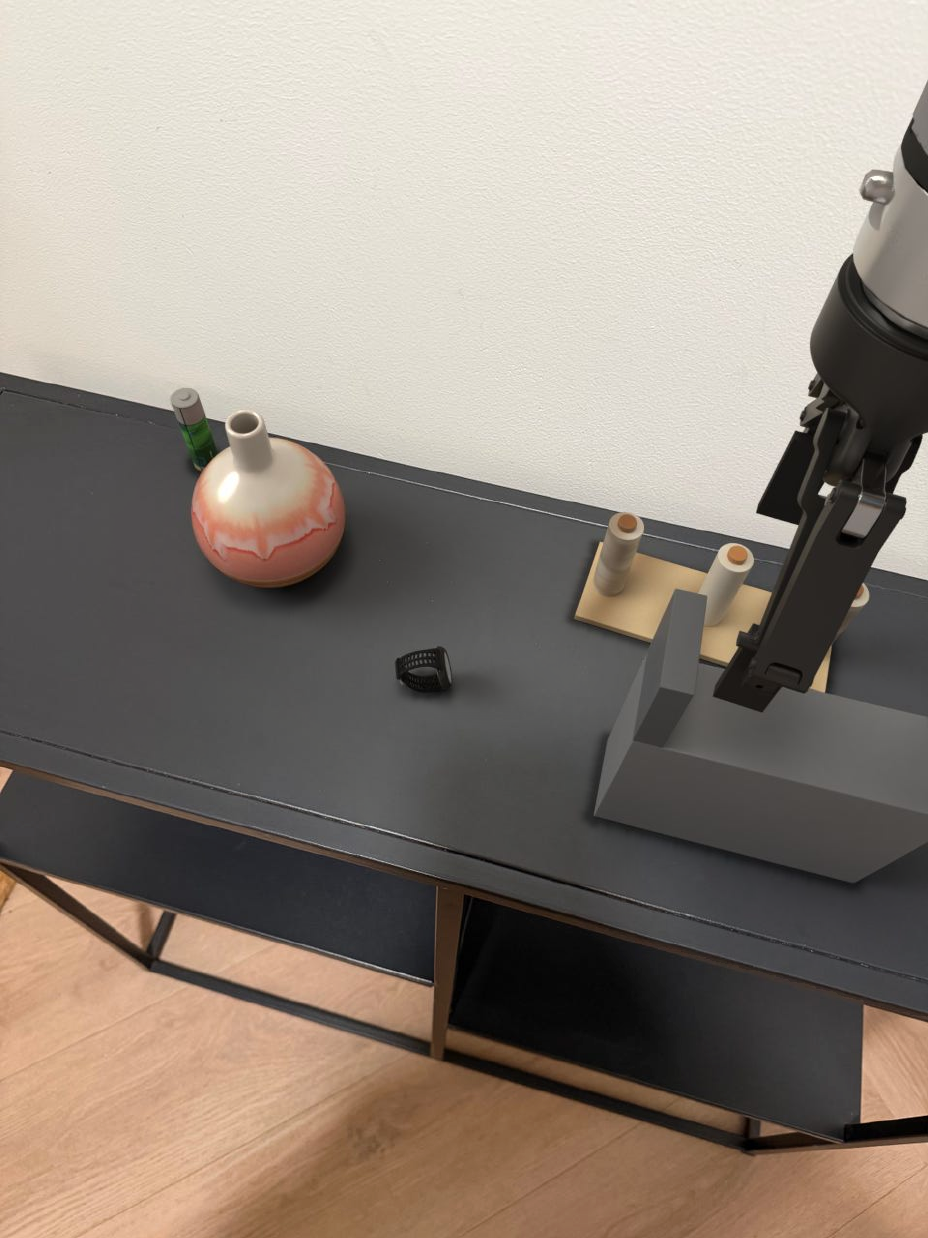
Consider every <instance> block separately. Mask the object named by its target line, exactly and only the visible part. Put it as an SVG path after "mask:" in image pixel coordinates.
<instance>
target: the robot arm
mask: <svg viewBox="0 0 928 1238" xmlns="http://www.w3.org/2000/svg"><path fill="white" fill-rule="evenodd" d="M858 191H859V194H860V197H861V198H862V200H864V201H867V202H871V205H870V207H869V210H868V212H867V214H866V216H865V218H864V220H863V222H862V224H861V227H860V228H859V231H858V233H857V235H856V237H855V239H854V240H855V241H854V244H853V247H852V253H851V254H850V255H848V256H847V258H846V259H845V260H844V262H843V263H842V264H841V267H840V268H839V270H838V273H837V274H836V277H835V279H834V281H833V283H832V286H831V288H830V290H829V292H828V295H827V297H826V299H825V301H824V303H823V305H822V308H821V310H820V312H819V314H818V316H817V318H816V321H815V322H814V324H813V327H812V330H811V333H810V338H809V352H810V359H811V361H812V364H813V367H814V369H815V370H816V374H815V375H814V377H813V379H812V380H810V382H809V384H808V387H807V390H808V393H807V396H808V397H809V398H813V399H814V400H812V401H811V402H809V403H808V404H807V405H805V406H804V408H803V410H801V412H800V415H799V427H802V428H803V430H802V431H800V430H794V432H793V434H792V436H791V438H790V440H789V442H788V443H787V446H786V447H785V450H784V451H783V453H782V456H781V458H780V460H779V462H778V463H777V465H776V468H775V470H774V471H773V474H772V475H771V477H770V479H769V481H768V484H766V485H767V486H766V487H765V490H764V492H763V493H762V495H761V497H760V498H759V501H758V503H757V506H756V510H755V514H757V515H760V516H764V517H767V518H771V519H774V520H778V521H781V522H785V523H788V524H792V525H796V526H797V528H796V530H795V533H794V536H793V538H792V540H791V543H790V546H789V549H788V551H787V554H786V556H785V558H784V561H783V564H782V566H781V569H780V571H779V574H778V577H777V579H776V582H775V584H774V587H773V589H772V592H771V593H772V594H771V597H770V599H769V602H768V604H767V607H766V609H765V612H764V615H763V617H762V620H761V622H760V625H758V624H754V623H753V624H752V626H751V628H750V629H749V631H748V633H746V632H743V631H739V633H738V637H737V640H736V646H737V647H738V649H737V651H736V652H735V654H734V655H733V657H732V659H731V660H730V662H729V664H728V665H727V667H725V668H724V669H725V670H724V672H723V673H722V675H721V677H720V678H719V680H718V682H717V683H716V685H715V689H714V693H713V697H715V698H718V699H721V700H725V701H728V702H731V703H734V704H737V705H740V706H743V707H746V708H749V709H752V710H755V711H758V712H761V713H762V712H763V711H764V710H765V709H766V707H767V706H768V705H769V703H770V702H771V701H772V699H773V698H774V697H775V695H776V694H777V693H778V692H779V690H780V689H781V688H782V687H784V688H787V689H790V690H794V691H797V692H800V693H803V694H805V693H806V692H807V691H808V689H809V687H811V686H812V684H813V681H814V677H815V675H816V673H817V672H818V670H819V668H820V666H821V664H822V662H823V660H824V658H825V656H826V654H827V652H828V650H829V648H830V646H831V644H832V642H833V640H834V638H835V636H836V634H837V632H838V630H839V629H840V627H841V625H842V623H843V621H844V619H845V617H846V615H847V613H848V611H849V609H850V607H851V605H852V603H853V601H854V599H855V597H856V595H857V593H858V591H859V589H860V587H861V585H862V584H863V583H864V581H865V580H866V577H867V576H868V574H869V572H870V570H871V568H872V566H873V564H874V562H875V560H876V558H877V556H878V554H879V552H880V551H881V549H882V548H883V546H884V545H885V544H886V542H887V541H888V539H889V538H890V536H891V535H892V533H893V532H894V530H895V529H896V527H897V525H898V524H899V523H900V521H901V520H902V519H904V517H905V516H906V515H905V514H906V513H907V507H906V506H907V503H908V501H907V497H905V496H902V495H899V494H895V493H894V492H895V490H896V488H897V485H898V483H899V481H900V478H901V477H902V475H903V474H905V473H906V472H907V471H909V470H910V469H911V468H912V466H913V463H914V462H915V459H916V457H917V454H918V452H919V450H920V447H921V445H922V442H923V437H924V434H928V80H927V81H926V83H925V85H924V87H923V90H922V92H921V94H920V97H919V99H918V101H917V102H916V105H915V108H914V110H913V112H912V117H911V119H910V121H909V123H908V126H907V128H906V130H905V132H904V135H903V138H902V140H901V142H900V145H899V146H898V148H897V150H896V152H895V154H894V157H893V164H892V171H889V170H881V169H871V170H869V171H868V172H866V174H865V175H864V177H863V180H862V182H861V184H860V186H859V188H858ZM824 484H827V485H828V486H830V487H833V488H832V489H831V491H830V493H828V494H827V496H826V495H822V494H819V493H820V491H821V490H822V488H823V486H824ZM832 645H833V644H832Z"/></svg>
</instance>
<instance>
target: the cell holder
mask: <svg viewBox="0 0 928 1238" xmlns="http://www.w3.org/2000/svg"><path fill="white" fill-rule="evenodd" d="M644 531H645V524H644V522H643V520H642V519H641V517H639V516H638V515H637V514H634V513H632V512H629V511H621V512H617V513H615V514H614V515H612V516H611V517H610V519H609V523H608V525H607V529H606V532H605V536H604V540H603V541H599V543H598V547H597V549H596V552H595V556H594V559H593V561H592V564H591V566H590V570H589V574H588V576H587V579H586V582H585V584H584V588H583V591H582V594H581V597H580V600H579V603H578V606H577V609H576V611H575V615H574V618H573V619H574V620H576V621H579V622H583V623H585V624H589V625H592V626H595V627H598V628H601V629H605V630H607V631H611V632H614V633H616V634H617V633H618V634H620V635H623V636H627V637H631V638H632V639H636V640H639V641H643V642H646V643H649V644H651V642H652V640H653V637H654V635H655V633H656V631H657V628H658V626H659V624H660V622H661V619H662V617H663V615H664V613H665V610H666V608H667V606H668V604H669V602H670V599H671V597H672V595H673V593H674V590H675V589H680V590H685V591H689V592H694V593H698V592H699V590H700V588H701V586H702V584H703V582H704V580H705V578H706V576H707V574H708V572H704V571H700V570H697V569H693V568H690V567H688V566H685V565H681V564H677V563H674V562H670V561H667V560H665V559H660V558H657V557H654V556H650V555H647V554H643V553H640V552H637V551H638V548H639V545H640V544H641V543H640V542H641V540H642V537H643V535H644ZM771 594H772V592H771V591H768V590H764V589H761V588H758V587H755V586H751V585H747V584H744V583H743V584H742V585H741V587H740V589H739V591H738V592H737V594H736V596H735V598H734V599H733V601H732V603H731V605H730V607H729V608H728V610H727V612H726V614H725V615H724V617H723V619H722V620H721V622H720V623H719V624H717V625H714V626H704V627H703V634H702V642H701V650H700V657H699V660H704V661H706V662H710V663H713V664H716V665H718V666H719V665H720V666H722V667H725V668H726V667H727V665H728V664H729V662H730V660H731V659H732V657H733V655H734V654H735V652H736V651H737V649H738V647H737V646H736V640H737V637H738V633H739V631H743V632H746V633H748V631H749V629H750V628H751V626H752V624H753V623H754V624H758V625H760V622H761V620H762V617H763V615H764V612H765V609H766V607H767V604H768V602H769V599H770V597H771ZM869 600H870V591H869V589H868V587H867V585H866V584H865V583H864V582H863V584H862V585H861V587H860V589H859V591H858V593H857V595H856V597H855V599H854V601H853V603H852V605H851V607H850V609H849V611H848V613H847V615H846V617H845V619H844V621H843V623H842V625H841V627H840V629H839V630H838V632H837V634H836V636H835V638H834V640H833V642H832V644H831V646H830V648H829V650H828V652H827V654H826V656H825V658H824V660H823V662H822V664H821V666H820V668H819V670H818V672H817V673H816V675H815V677H814V681H813V684H812V686H811V687H809V689H811V690H815V691H819V692H823V693H826V691H827V682H828V675H829V669H830V663H831V655H832V648H833V644H834V643H835V642H836V641H837V639H838V638H839V637H840V636H841V634H843V632H844V631H845V630H846V628H848V627H849V625H850V624H851V623H852V621H853V620H854V619H855V618H856V617H857V615H858V614H859V613H860V612H861V610H862V609H863V608H864V607H865V606H866V604H867V603H868V602H869Z"/></svg>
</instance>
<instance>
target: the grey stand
mask: <svg viewBox="0 0 928 1238" xmlns="http://www.w3.org/2000/svg"><path fill="white" fill-rule="evenodd" d="M706 604H707V595H702V594H698V593H694V592H689V591H685V590H680V589H675V590H674V593H673V595H672V597H671V599H670V602H669V604H668V606H667V608H666V610H665V613H664V615H663V617H662V619H661V622H660V624H659V626H658V628H657V631H656V633H655V635H654V637H653V640H652V642H651V643H649V646H648V649H647V651H646V653H645V655H644V658H643V660H642V662H641V664H640V667H639V668H638V671H637V673H636V676H635V678H634V680H633V683H632V685H631V687H630V689H629V691H628V694H627V696H626V698H625V700H624V703H623V705H622V707H621V709H620V711H619V714H618V716H617V718H616V720H615V723H614V725H613V727H612V729H611V732H610V734H609V736H608V738H607V742H606V745H605V753H604V757H603V763H602V768H601V773H600V779H599V783H598V789H597V794H596V800H595V806H594V812H593V816H594V817H596V818H600V819H604V820H608V821H612V822H615V823H619V824H622V825H627V826H630V827H634V828H638V829H642V830H647V831H650V832H655V833H658V834H662V835H666V836H669V837H672V838H677V839H681V840H684V841H689V842H692V843H696V844H700V845H704V846H708V847H712V848H716V849H719V850H723V851H727V852H731V853H735V854H739V855H743V856H746V857H750V858H754V859H757V860H761V861H766V862H768V863H773V864H777V865H781V866H785V867H788V868H792V869H796V870H800V871H804V872H808V873H812V874H815V875H819V876H823V877H828V878H830V879H835V880H837V881H838V880H839V881H842V882H846V883H849V884H850V883H851V884H856V883H858V882H859V881H861V880H863V879H864V878H866V877H868V876H870V875H872V874H874V873H875V872H877V871H879V870H881V869H882V868H884V867H886V866H888V865H890V864H892V863H893V862H895V861H897V860H898V859H900V858H902V857H903V856H905V855H907V854H909V853H910V852H912V851H914V850H917V849H918V848H920V847H922V846H923V845H925V844H927V843H928V716H924V715H921V714H916V713H912V712H907V711H904V710H899V709H895V708H892V707H891V708H890V707H886V706H882V705H879V704H874V703H869V702H865V701H861V700H857V699H853V698H849V697H845V696H840V695H836V694H832V693H827V692H825V693H823V692H819V691H815V690H811V689H808V691H807V692H806V693H805V694H803V693H800V692H797V691H794V690H790V689H787V688H784V687H782V688H781V689H780V690H779V692H778V693H777V694H776V695H775V697H774V698H773V699H772V701H771V702H770V703H769V705H768V706H767V707H766V709H765V710H764V711H763V712H762V713H761V712H758V711H755V710H752V709H749V708H746V707H743V706H740V705H737V704H734V703H731V702H728V701H725V700H721V699H718V698H715V697H713V693H714V689H715V685H716V683H717V682H718V680H719V678H720V677H721V675H722V673H723V672H724V670H725V668H722V667H717V666H713V665H708V664H704V663H700V658H699V657H700V650H701V642H702V634H703V627H704V619H705V611H706Z"/></svg>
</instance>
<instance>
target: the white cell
mask: <svg viewBox="0 0 928 1238" xmlns="http://www.w3.org/2000/svg"><path fill="white" fill-rule="evenodd" d="M754 563H755V558H754V554H753V553H752V551H751V550H750V549H749V548H748V547H747V546H745V545H743V544H740V543H738V542H737V543H735V542H732V543H731V542H729V543H726V544H723V546H721V547H720V548H719V550H718V552H717V554H716V555H715V558H714V560H713V562H712V564H711V566H710V568H709V570H708V572H707V573H708V574H707V576H706V578H705V580H704V582H703V584H702V586H701V588H700V590H699V592H698V594H702V595H707V604H706V611H705V619H704V626H714V625H717V624H719V623H720V622H721V620H722V619H723V617H724V615H725V614H726V612H727V610H728V608H729V607H730V605H731V603H732V601H733V599H734V598H735V596H736V594H737V592H738V591H739V589H740V587H741V585H742V584H744V582H745V581H746V578H747V577H748V575H749V573H750V571H751V570H752V568H753V566H754Z"/></svg>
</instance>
